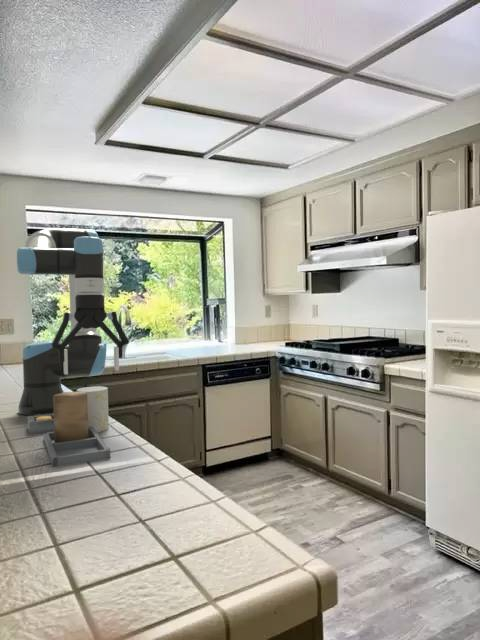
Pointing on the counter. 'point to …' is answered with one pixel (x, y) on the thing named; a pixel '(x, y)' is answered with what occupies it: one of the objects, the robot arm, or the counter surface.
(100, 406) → the white stubby cylinder
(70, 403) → the ball
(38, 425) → the grey square holder
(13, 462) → the counter surface
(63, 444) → the grey divided tray
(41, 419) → the button
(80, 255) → the robot arm
